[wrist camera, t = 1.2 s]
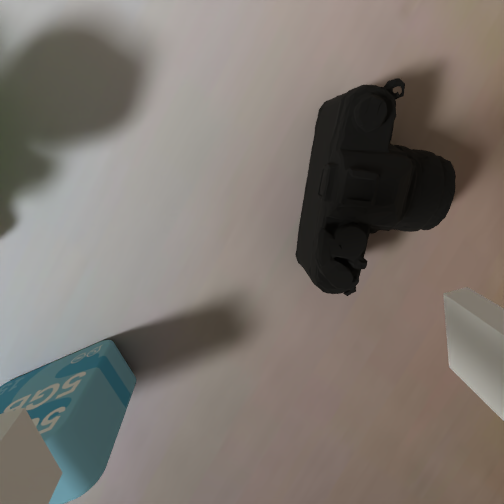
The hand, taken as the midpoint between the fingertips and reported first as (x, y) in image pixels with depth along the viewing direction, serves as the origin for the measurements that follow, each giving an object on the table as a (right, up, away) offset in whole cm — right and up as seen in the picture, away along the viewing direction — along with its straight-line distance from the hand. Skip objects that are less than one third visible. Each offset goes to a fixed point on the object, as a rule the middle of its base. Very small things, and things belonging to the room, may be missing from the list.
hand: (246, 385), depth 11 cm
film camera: (+9, +9, +19) cm, 23 cm away
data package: (-17, -8, +22) cm, 28 cm away
